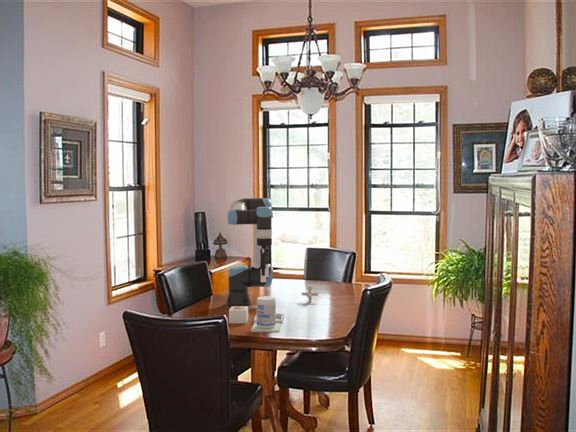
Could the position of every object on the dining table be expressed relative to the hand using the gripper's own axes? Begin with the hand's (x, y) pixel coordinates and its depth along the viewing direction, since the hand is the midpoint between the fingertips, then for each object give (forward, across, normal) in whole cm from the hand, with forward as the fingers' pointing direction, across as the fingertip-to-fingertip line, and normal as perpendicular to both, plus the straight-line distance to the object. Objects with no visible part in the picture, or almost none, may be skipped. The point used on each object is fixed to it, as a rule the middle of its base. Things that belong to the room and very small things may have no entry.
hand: (264, 279), depth 289 cm
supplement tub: (+24, +1, +1) cm, 24 cm away
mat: (+25, +1, +1) cm, 25 cm away
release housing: (+25, -13, -15) cm, 32 cm away
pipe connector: (+25, -60, +22) cm, 68 cm away
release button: (+22, -13, -15) cm, 30 cm away
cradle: (+25, -15, +1) cm, 29 cm away
